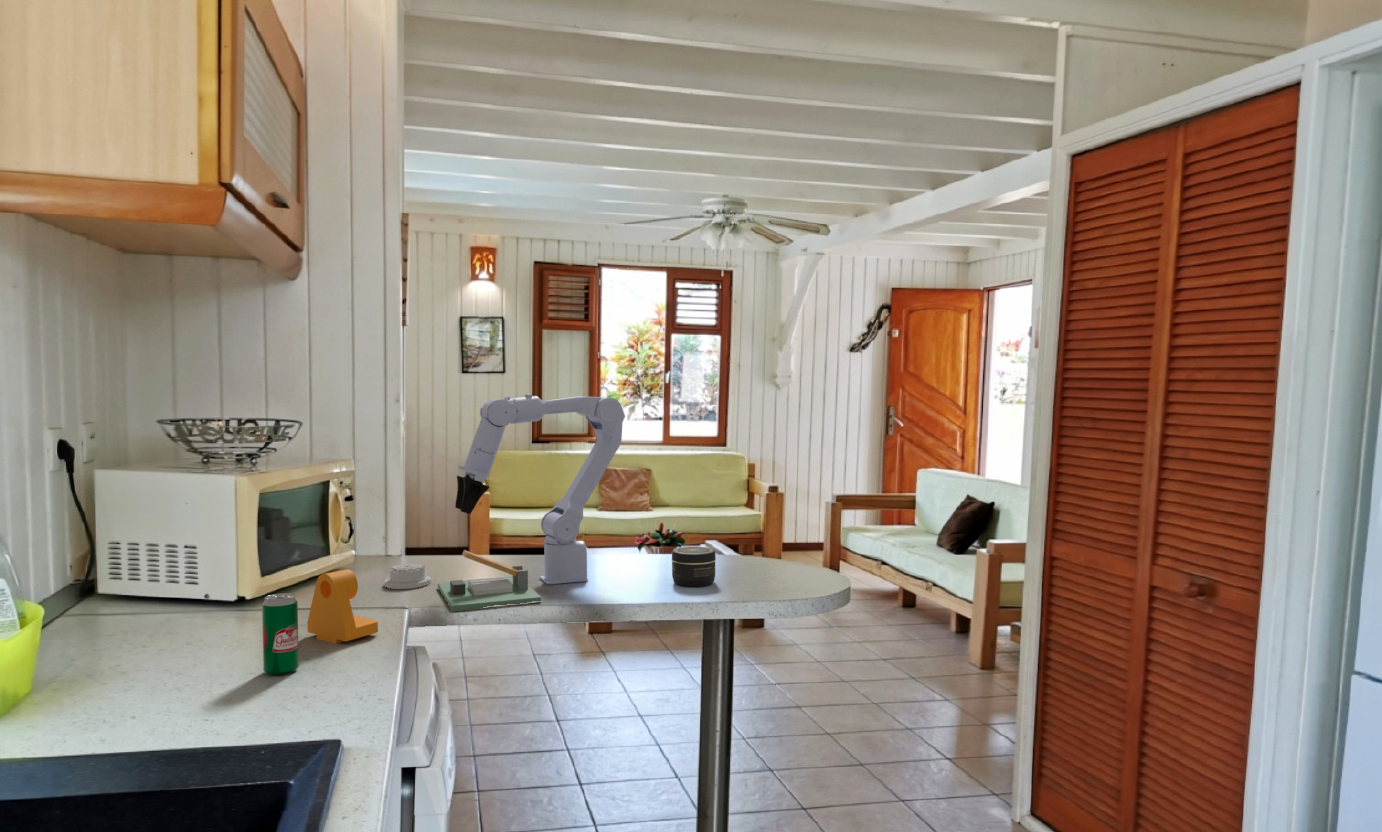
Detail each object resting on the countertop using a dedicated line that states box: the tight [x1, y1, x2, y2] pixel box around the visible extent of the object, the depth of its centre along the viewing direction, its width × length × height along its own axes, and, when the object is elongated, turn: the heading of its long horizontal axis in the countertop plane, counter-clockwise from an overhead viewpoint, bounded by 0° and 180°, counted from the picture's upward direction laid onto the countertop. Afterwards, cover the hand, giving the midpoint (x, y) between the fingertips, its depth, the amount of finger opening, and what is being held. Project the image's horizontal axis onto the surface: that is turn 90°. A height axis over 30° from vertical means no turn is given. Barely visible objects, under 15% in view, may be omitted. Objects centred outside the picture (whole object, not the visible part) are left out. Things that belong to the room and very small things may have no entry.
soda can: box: [261, 592, 300, 677], centre depth 140 cm, size 5×5×12 cm
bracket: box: [306, 568, 379, 644], centre depth 160 cm, size 11×7×12 cm, turn 58°
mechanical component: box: [383, 563, 432, 590], centre depth 201 cm, size 10×4×10 cm
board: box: [437, 564, 542, 613], centre depth 191 cm, size 18×22×5 cm
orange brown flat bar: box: [462, 549, 518, 577], centre depth 191 cm, size 14×4×1 cm, turn 112°
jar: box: [671, 546, 717, 589], centre depth 202 cm, size 10×10×8 cm
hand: (462, 510), depth 194 cm, fingers open, 7 cm apart
